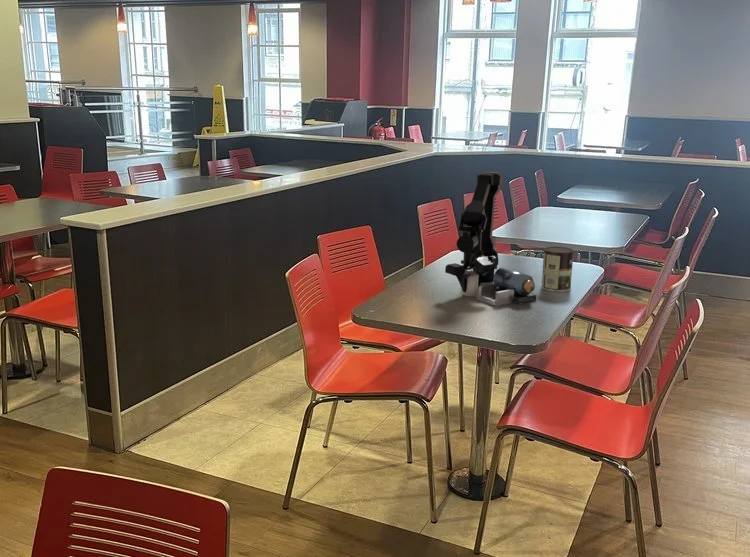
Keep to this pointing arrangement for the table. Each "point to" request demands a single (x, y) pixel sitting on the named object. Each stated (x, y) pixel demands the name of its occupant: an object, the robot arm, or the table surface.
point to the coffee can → (557, 269)
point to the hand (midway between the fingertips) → (470, 291)
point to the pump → (472, 284)
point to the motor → (508, 288)
